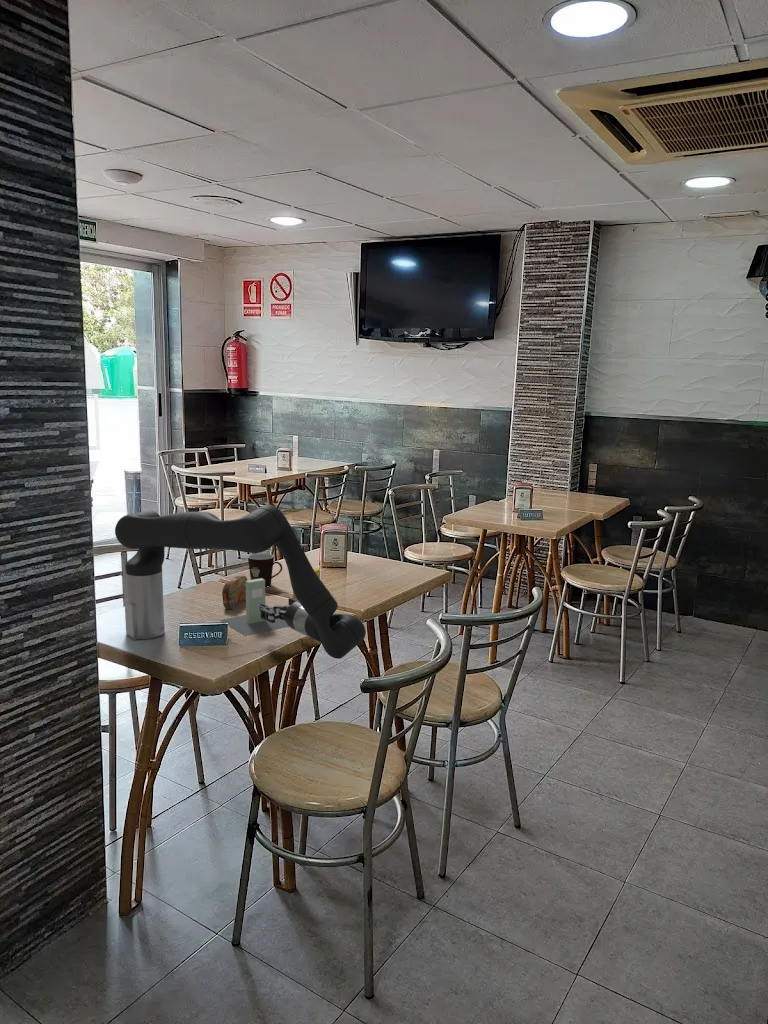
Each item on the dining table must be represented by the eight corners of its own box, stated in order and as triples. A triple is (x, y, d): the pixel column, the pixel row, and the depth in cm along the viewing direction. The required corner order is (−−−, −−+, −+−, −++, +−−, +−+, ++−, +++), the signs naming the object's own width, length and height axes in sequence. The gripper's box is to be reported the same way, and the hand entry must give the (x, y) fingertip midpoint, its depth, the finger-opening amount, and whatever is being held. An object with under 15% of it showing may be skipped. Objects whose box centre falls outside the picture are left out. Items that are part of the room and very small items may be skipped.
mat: (244, 638, 194) (244, 635, 194) (219, 622, 207) (219, 620, 207) (327, 620, 210) (327, 618, 210) (298, 606, 222) (298, 604, 222)
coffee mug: (243, 585, 245) (242, 556, 244) (264, 580, 251) (264, 552, 249) (262, 592, 237) (262, 562, 235) (284, 587, 243) (284, 558, 241)
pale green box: (249, 624, 204) (249, 582, 202) (246, 622, 205) (245, 580, 203) (265, 620, 207) (265, 579, 205) (262, 618, 208) (261, 578, 206)
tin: (230, 613, 215) (230, 585, 214) (220, 612, 216) (220, 585, 214) (250, 599, 230) (249, 573, 228) (240, 598, 230) (240, 572, 229)
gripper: (330, 599, 187) (298, 586, 199) (281, 609, 178) (251, 595, 191) (331, 628, 188) (298, 612, 201) (282, 639, 179) (252, 622, 192)
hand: (275, 604), depth 196 cm, fingers open, 8 cm apart
